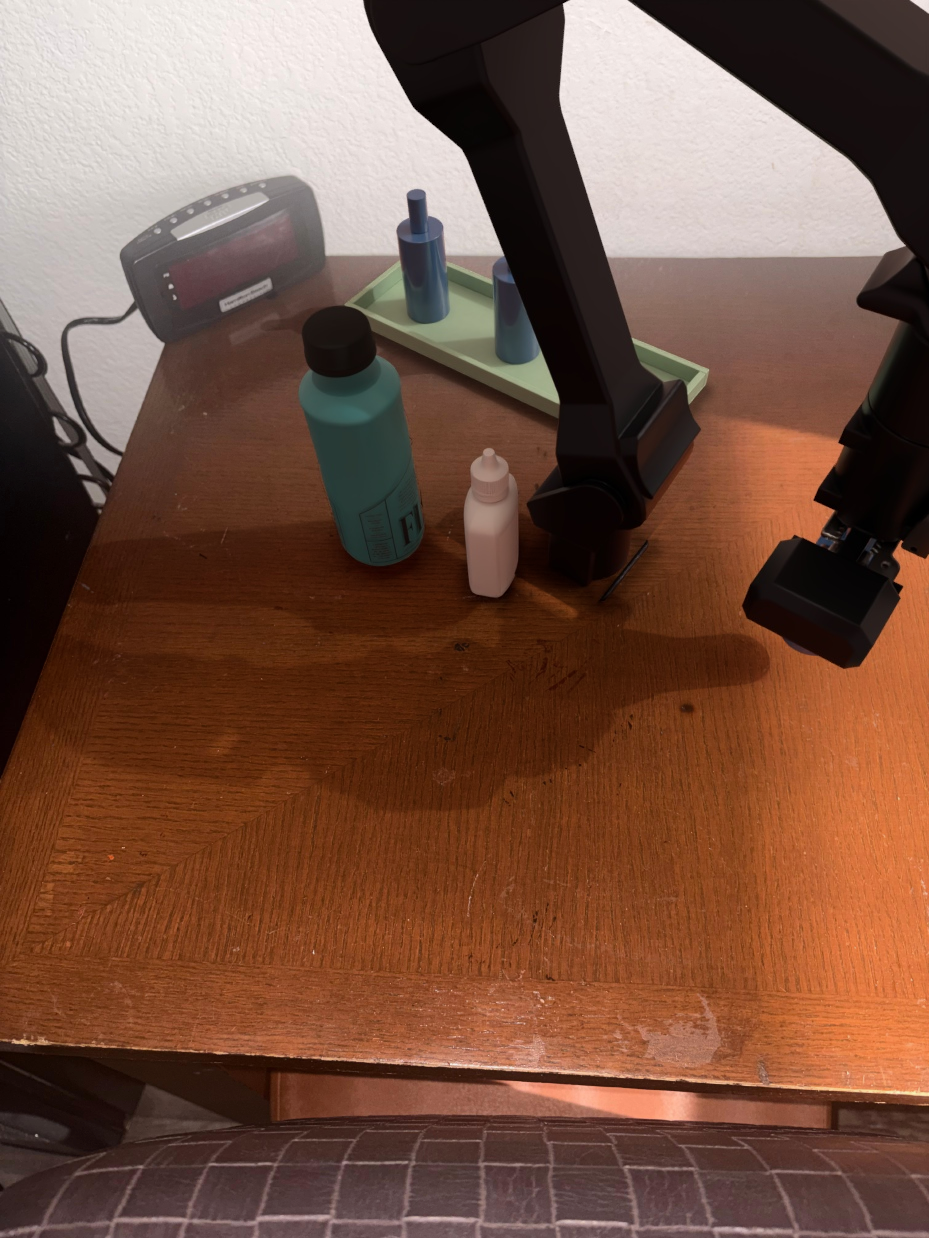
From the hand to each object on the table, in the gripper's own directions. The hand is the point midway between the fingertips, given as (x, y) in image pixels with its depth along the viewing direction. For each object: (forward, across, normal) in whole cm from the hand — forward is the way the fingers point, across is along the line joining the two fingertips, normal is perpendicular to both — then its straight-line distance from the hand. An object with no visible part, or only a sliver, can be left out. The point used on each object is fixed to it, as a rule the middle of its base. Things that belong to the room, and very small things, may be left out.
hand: (829, 599), depth 51 cm
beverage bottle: (+7, -9, +29) cm, 31 cm away
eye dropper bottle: (+7, -6, +21) cm, 23 cm away
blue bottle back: (+6, +14, +43) cm, 46 cm away
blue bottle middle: (+6, +14, +33) cm, 36 cm away
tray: (+6, +14, +33) cm, 37 cm away
